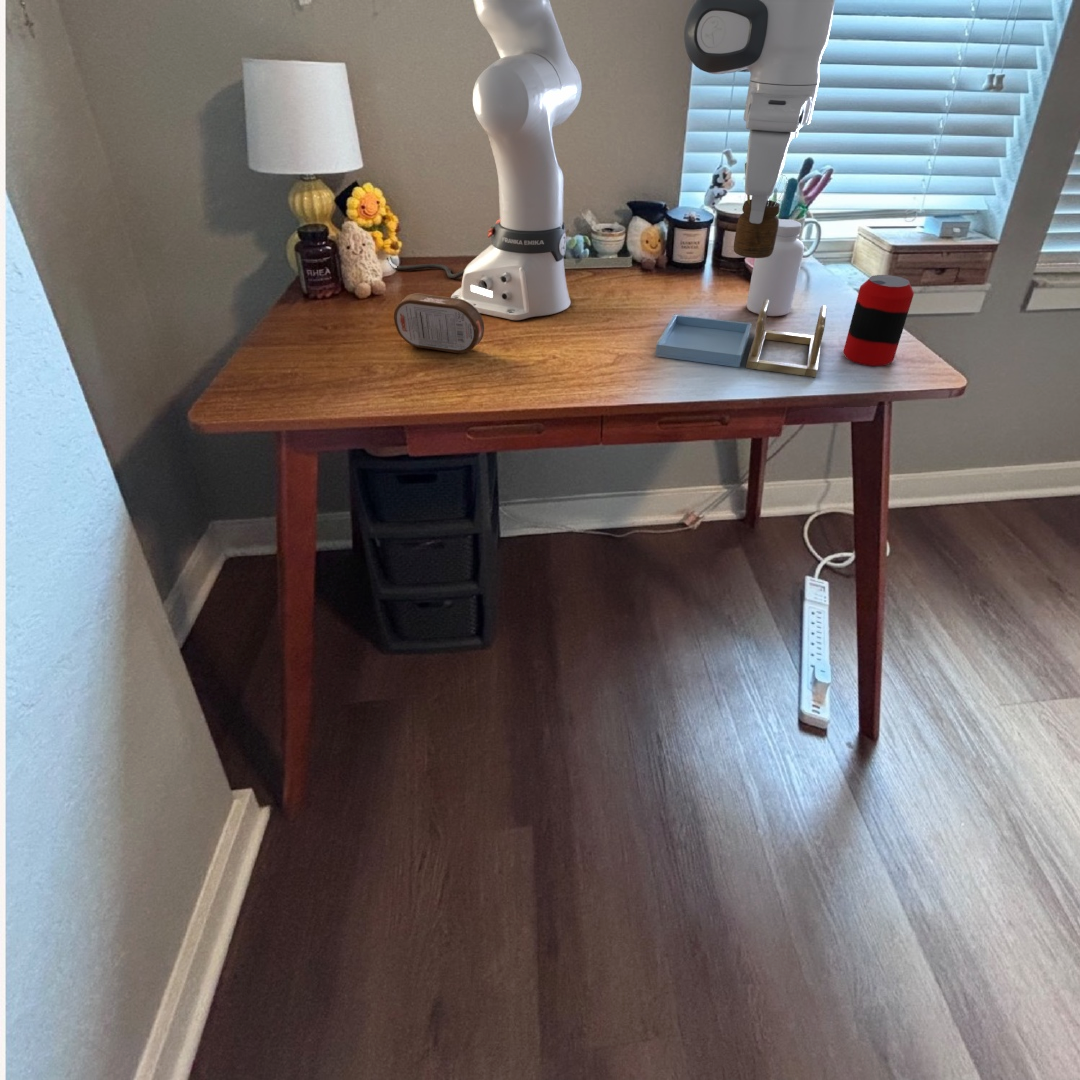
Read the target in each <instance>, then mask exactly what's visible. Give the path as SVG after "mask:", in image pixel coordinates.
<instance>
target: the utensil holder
mask: <svg viewBox="0 0 1080 1080" xmlns="http://www.w3.org/2000/svg"><path fill="white" fill-rule="evenodd" d="M746 163H747V161H746V162H744V175H745V174H746ZM780 176H781V177H779V180H780V181H779V182H777V184H776V187H775V190H776V191H775V192H773V196H772V198H773V199H775V197H776V196H777V194H778V191H779V189H780V186H781V183H782V180H783V178H784V179H785V182H784V183H783V187H782V189H781V192H780V194H779V197H778V199H777V200H776V201H775V200H772V199H771V200H770V199H769V200H767V203H766V206H765V211H764V216H763V220H762V222H761V223H760V224H756V223H751V222H750V220H749V219H750V213H751V202H752V198H751V195H747V194H746V195H747V196H746V199H747V200H744V203H743V204H742V208H741V209H742V210H741V211H742V213H741V214H740V216H739V217H738V220H737V224H736V229H735V235H734V239H733V240H734V241H733V252H734V253H735V254H736V255H738V256H741V257H744V258H750V259H755V258H765V257H769V256H770V255H771V254H772V253H773V250H774V246H775V241H776V237H777V232H778V226H779V219H780V218H779V216H778V215H779V214H780V210H781V209H780V207H781V205H780V203H779V202H781V200H782V199H783V197H782V196H783V194H785V193H786V191H785V189H787V187H788V184H789V180H788V177H787V176H786V175H785V174H782V173H781V174H780ZM769 198H771V196H770V197H769ZM779 199H780V200H779Z"/></svg>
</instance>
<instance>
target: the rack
mask: <svg viewBox="0 0 1080 1080" xmlns="http://www.w3.org/2000/svg"><path fill="white" fill-rule="evenodd" d="M768 306H769V300H768V299H765V300H764V302H763V305H762V308H761V311H760V314H758V317H757V321H756V326H755V332H754V337H753V341H752V343H751V347H750V350H749V354H748V356H747V361H746V365H745V368H746V369H751V370H758V371H766V372H773V373H782V374H789V375H797V376H804V377H812V378H817V374H818V369H819V361H820V353H821V347H822V340H823V336H824V332H825V328H826V319H827V318H826V317H827V310H828V307H827V305H824V304H823V305H821V307H820V310H819V314H818V318H817V321H816V326H815V330H814V335H812V334H805V333H795V332H787V331H778V330H770V329H765V327H766V322H767V317H768V316H767V312H768ZM765 340H767V341H776V342H784V343H793V344H794V343H795V344H802V345H809V346H808V347H809V348H808V352H807V359H806V365H805V364H797V363H790V362H781V361H774V360H767V359H760V357H761V354H762V350H763V347H764V343H765Z"/></svg>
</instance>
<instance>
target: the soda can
mask: <svg viewBox="0 0 1080 1080" xmlns="http://www.w3.org/2000/svg"><path fill="white" fill-rule="evenodd" d="M914 294H915V292H914V290H913V287H912V285H911V282H910V280H909V279H907V278H905V277H901V276H897V275H891V274H875V275H872V276H870V277H868V279H866V281H864V282H863V283H862V284H861V285H860V287H859V289H858V293H857V297H856V301H855V305H854V308H853V309H854V310H853V312H852V316H851V321H850V323H849V324H850V325H849V327H848V328H849V329H848V332H847V336H846V340H845V343H844V347H843V351H842V352H843V355H844V357H845V358H846V359H847V360H849V361H850V362H852V363H854V364H858V365H861V366H868V367H884V366H886V365H889V364H891V363H892V362H893V361H894V359H895V356H896V353H897V350H898V346H899V344H900V340H901V337H902V333H903V331H904V327H905V324H906V320H907V317H908V315H909V311H910V308H911V305H912V301H913V298H914V296H915V295H914Z"/></svg>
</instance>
